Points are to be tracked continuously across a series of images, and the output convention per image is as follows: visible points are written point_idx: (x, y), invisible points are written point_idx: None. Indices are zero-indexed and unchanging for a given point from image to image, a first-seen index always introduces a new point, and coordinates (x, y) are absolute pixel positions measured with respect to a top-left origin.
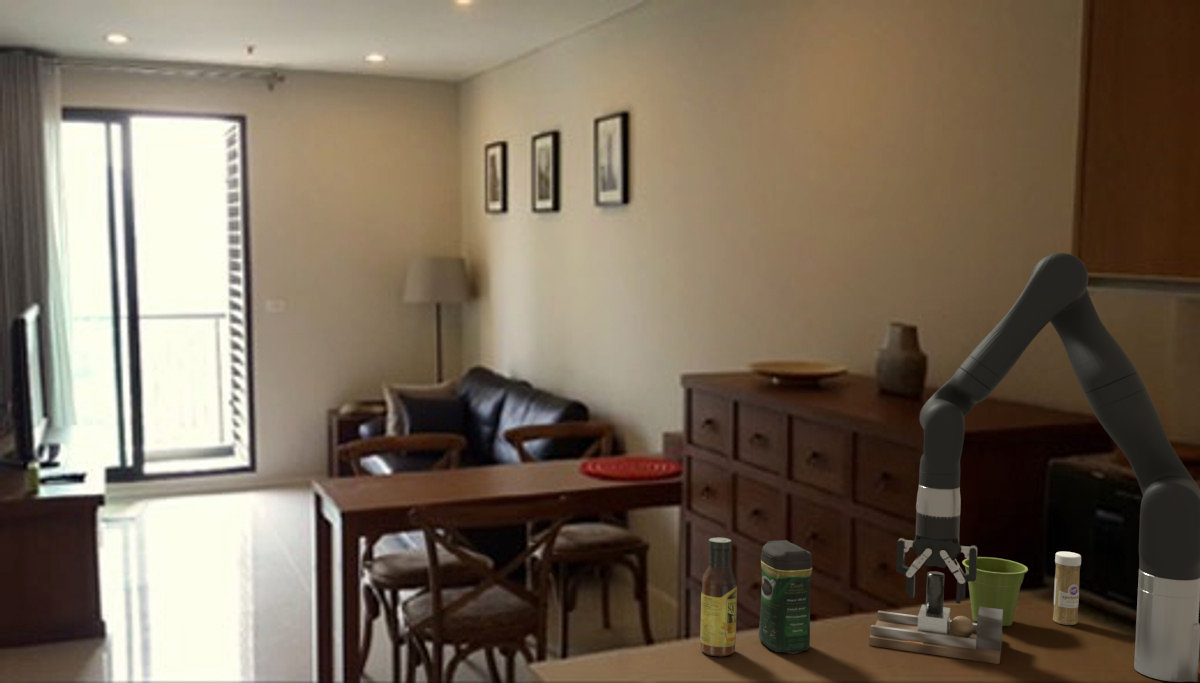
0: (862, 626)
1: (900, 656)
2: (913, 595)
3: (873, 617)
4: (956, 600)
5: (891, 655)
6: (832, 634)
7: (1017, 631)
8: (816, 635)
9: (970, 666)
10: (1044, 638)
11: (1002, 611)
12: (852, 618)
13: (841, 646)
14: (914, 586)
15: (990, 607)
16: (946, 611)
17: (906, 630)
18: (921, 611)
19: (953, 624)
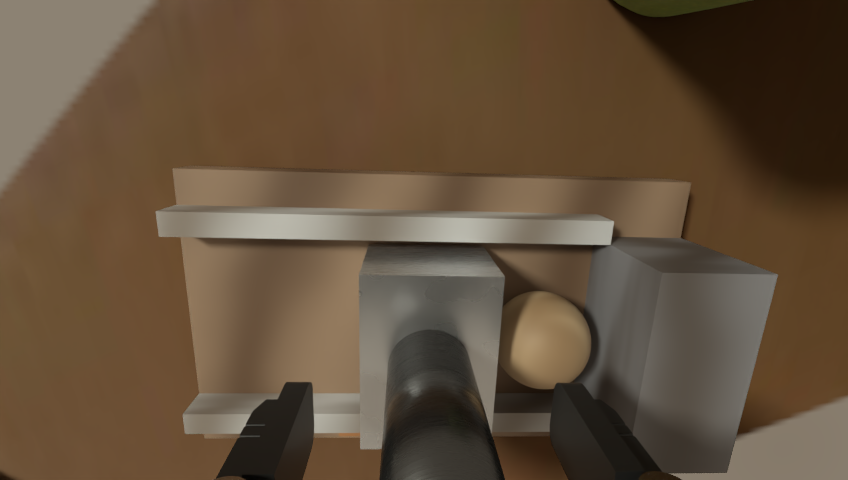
0: (137, 226)
1: (332, 468)
2: (310, 443)
3: (144, 80)
4: (556, 450)
5: (305, 470)
6: (65, 362)
7: (753, 26)
8: (17, 394)
9: (540, 464)
10: (841, 80)
11: (768, 309)
12: (64, 135)
13: (136, 458)
14: (297, 439)
15: (709, 2)
16: (486, 339)
17: (325, 422)
18: (369, 389)
19: (509, 373)
